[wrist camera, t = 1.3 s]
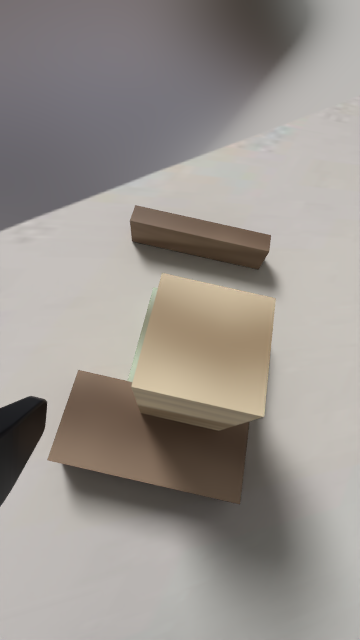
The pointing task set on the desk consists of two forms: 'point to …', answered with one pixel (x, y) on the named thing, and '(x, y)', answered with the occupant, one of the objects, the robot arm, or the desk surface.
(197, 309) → the beech block
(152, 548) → the desk surface
